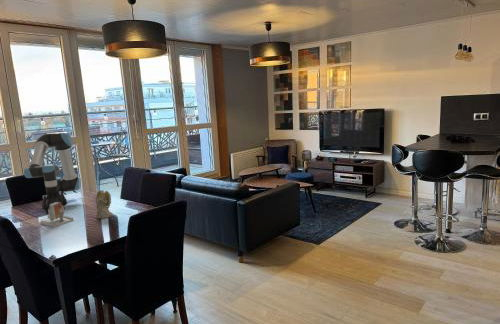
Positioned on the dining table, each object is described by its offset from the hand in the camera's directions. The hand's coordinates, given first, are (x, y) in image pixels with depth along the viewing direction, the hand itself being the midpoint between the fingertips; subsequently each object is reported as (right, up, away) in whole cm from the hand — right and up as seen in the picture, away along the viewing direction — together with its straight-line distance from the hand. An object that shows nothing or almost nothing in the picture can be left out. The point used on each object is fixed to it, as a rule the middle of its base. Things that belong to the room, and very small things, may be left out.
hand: (56, 216), depth 247 cm
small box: (0, -1, 0) cm, 1 cm away
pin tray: (0, -4, +1) cm, 4 cm away
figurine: (+32, -2, +7) cm, 33 cm away
